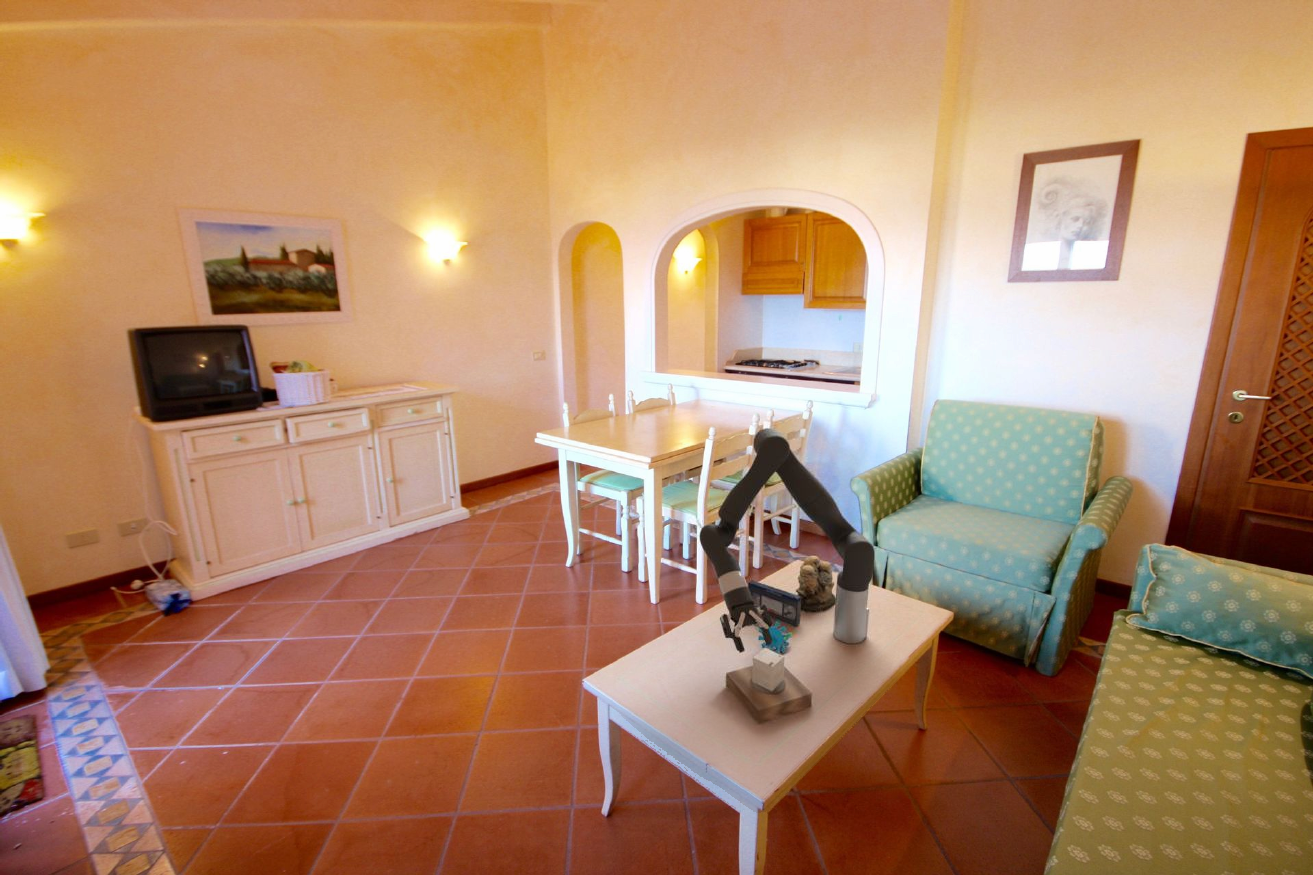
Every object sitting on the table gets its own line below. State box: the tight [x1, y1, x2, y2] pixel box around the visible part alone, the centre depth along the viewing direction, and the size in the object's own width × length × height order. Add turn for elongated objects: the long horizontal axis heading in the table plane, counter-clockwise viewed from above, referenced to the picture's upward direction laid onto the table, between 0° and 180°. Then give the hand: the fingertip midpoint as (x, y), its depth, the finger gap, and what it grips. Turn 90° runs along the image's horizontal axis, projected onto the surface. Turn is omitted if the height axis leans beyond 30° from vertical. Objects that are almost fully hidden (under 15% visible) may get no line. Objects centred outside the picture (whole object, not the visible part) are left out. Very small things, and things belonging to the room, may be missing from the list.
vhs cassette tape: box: [747, 579, 802, 628], centre depth 192 cm, size 18×3×10 cm, turn 49°
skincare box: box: [752, 647, 785, 691], centre depth 153 cm, size 6×6×7 cm
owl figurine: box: [795, 555, 836, 613], centre depth 200 cm, size 18×12×17 cm, turn 130°
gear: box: [757, 620, 793, 655], centre depth 176 cm, size 11×6×10 cm
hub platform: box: [725, 665, 813, 725], centre depth 154 cm, size 16×16×4 cm
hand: (756, 648), depth 157 cm, fingers open, 8 cm apart
